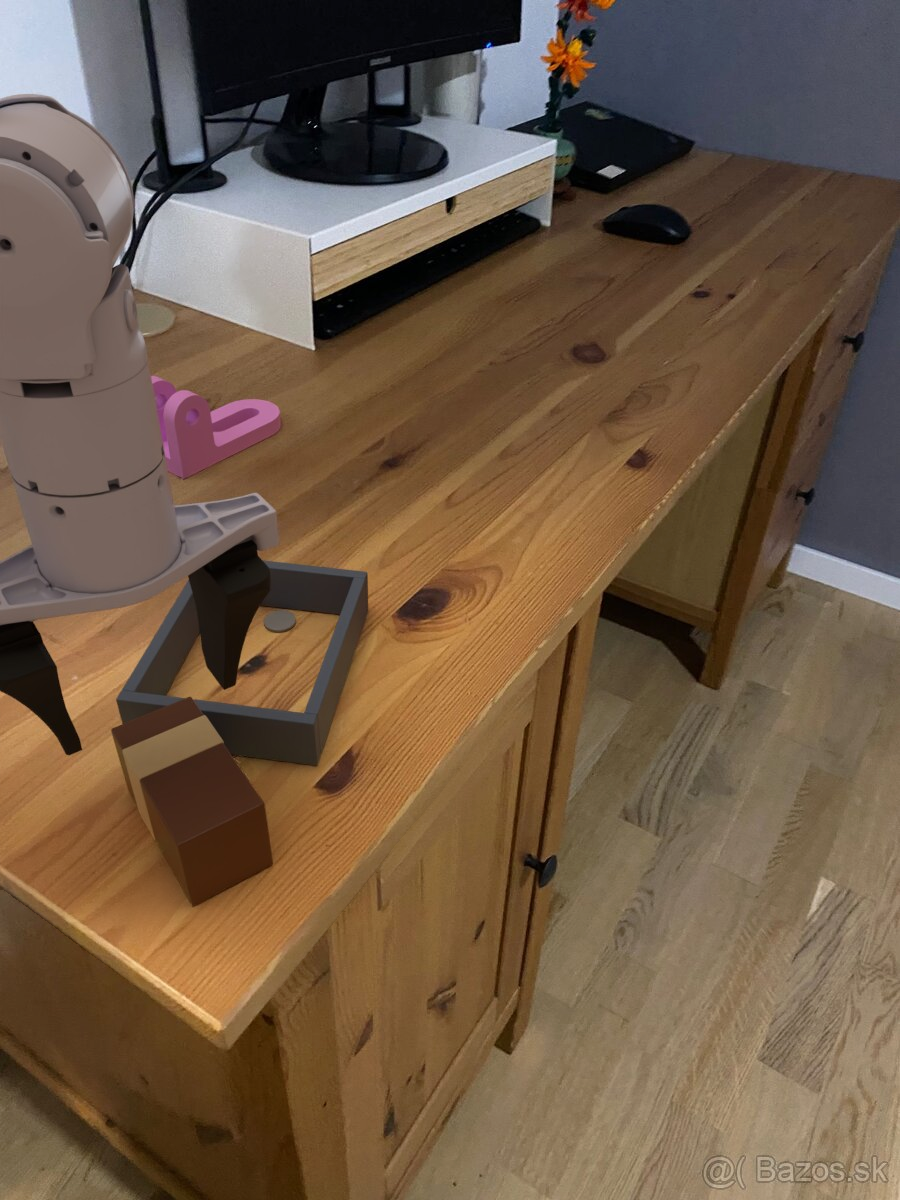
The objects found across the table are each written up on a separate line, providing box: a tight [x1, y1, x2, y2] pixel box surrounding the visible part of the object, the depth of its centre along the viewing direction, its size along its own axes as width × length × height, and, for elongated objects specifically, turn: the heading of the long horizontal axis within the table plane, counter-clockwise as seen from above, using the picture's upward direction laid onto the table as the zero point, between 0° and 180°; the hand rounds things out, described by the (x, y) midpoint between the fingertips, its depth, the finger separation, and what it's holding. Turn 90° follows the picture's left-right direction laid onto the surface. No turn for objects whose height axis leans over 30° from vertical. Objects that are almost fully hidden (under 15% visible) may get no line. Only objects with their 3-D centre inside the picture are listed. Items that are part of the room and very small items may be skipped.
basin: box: [115, 559, 369, 766], centre depth 58 cm, size 12×15×4 cm
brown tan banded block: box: [110, 696, 274, 907], centre depth 48 cm, size 5×9×5 cm, turn 36°
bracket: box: [151, 375, 282, 480], centre depth 81 cm, size 13×6×7 cm, turn 143°
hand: (147, 706), depth 44 cm, fingers open, 7 cm apart
